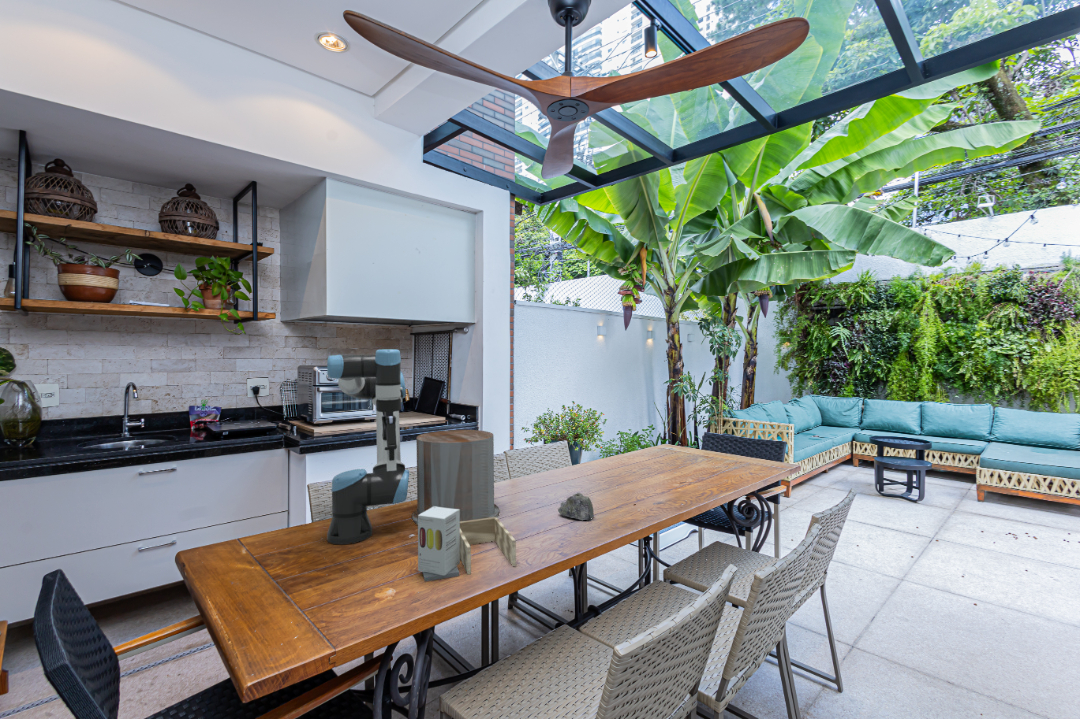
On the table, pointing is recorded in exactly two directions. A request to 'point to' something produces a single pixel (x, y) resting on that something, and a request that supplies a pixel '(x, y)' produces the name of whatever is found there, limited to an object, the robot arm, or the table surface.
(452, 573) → the plate
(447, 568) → the supplement box
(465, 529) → the shelf bay
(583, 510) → the mineral rock
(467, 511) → the grey streaked cylinder
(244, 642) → the table surface
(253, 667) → the table surface
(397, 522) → the table surface
